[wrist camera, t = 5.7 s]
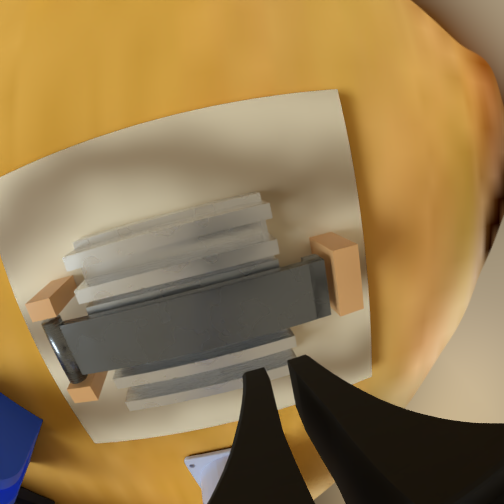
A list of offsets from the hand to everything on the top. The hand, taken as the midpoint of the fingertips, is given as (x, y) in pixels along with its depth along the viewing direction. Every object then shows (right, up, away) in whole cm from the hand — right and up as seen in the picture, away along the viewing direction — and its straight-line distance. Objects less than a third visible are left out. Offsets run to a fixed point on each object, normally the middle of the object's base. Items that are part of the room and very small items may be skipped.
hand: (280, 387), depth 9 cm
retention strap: (-4, +1, +6) cm, 8 cm away
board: (-5, +2, +10) cm, 11 cm away
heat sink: (-4, +2, +8) cm, 10 cm away
